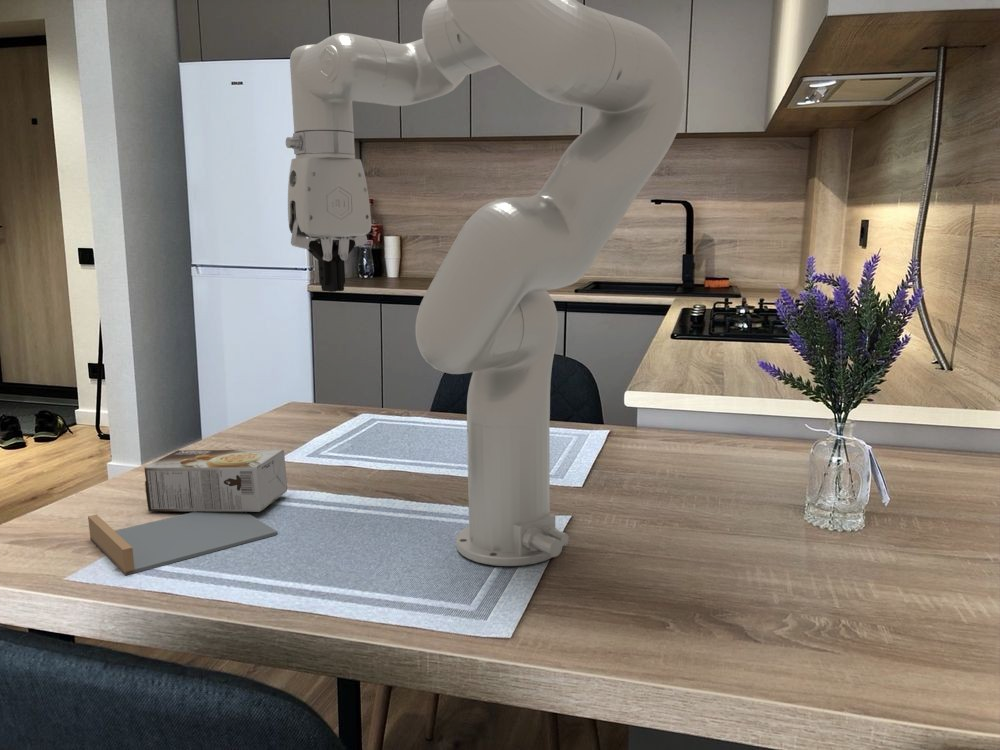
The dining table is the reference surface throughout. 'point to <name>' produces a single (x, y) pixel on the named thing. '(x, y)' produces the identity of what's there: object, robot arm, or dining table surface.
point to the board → (175, 538)
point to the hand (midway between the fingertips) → (332, 290)
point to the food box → (216, 480)
